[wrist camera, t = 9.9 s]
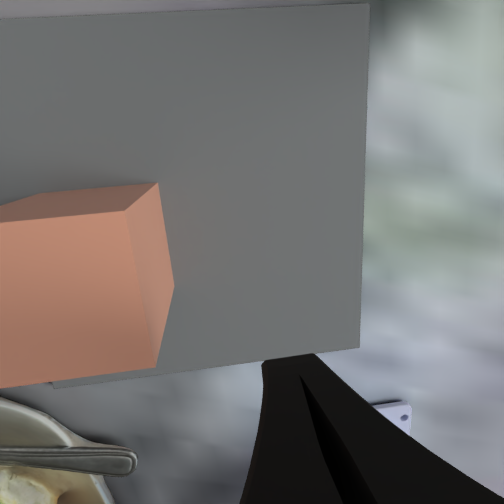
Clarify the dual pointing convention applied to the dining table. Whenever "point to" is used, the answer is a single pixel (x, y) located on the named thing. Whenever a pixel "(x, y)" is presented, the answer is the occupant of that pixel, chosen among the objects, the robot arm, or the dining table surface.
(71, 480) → the salad plate
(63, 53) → the mat
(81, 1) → the dining table surface
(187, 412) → the dining table surface
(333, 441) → the robot arm
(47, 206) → the peach foam cube
